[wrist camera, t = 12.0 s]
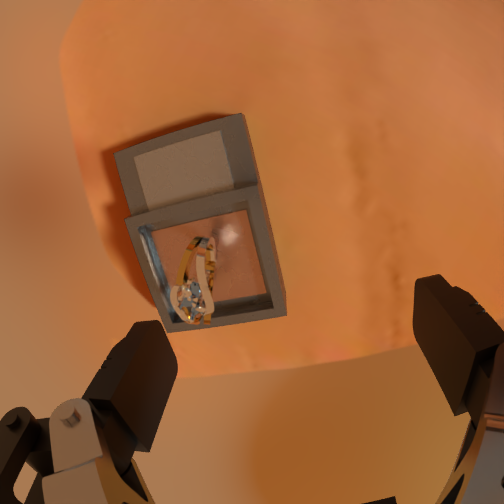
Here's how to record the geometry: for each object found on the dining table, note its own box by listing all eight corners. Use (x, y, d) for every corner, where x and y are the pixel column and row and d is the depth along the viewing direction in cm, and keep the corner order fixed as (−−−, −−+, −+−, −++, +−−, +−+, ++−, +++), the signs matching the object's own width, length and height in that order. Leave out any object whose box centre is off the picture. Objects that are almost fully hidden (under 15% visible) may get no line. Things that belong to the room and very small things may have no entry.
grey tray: (127, 151, 28) (105, 154, 24) (244, 115, 26) (239, 111, 22) (178, 310, 34) (167, 333, 30) (285, 292, 32) (286, 315, 28)
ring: (196, 222, 27) (166, 256, 20) (233, 227, 27) (215, 263, 20) (193, 293, 30) (168, 342, 22) (226, 298, 29) (210, 350, 22)
